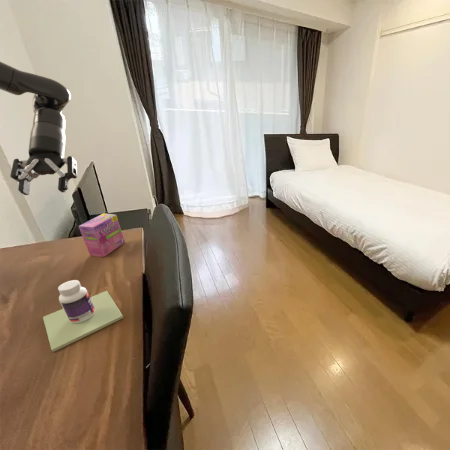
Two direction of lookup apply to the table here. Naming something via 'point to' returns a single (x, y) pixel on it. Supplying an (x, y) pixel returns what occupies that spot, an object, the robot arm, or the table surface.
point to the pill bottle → (75, 301)
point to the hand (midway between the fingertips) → (43, 192)
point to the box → (102, 234)
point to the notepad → (70, 332)
